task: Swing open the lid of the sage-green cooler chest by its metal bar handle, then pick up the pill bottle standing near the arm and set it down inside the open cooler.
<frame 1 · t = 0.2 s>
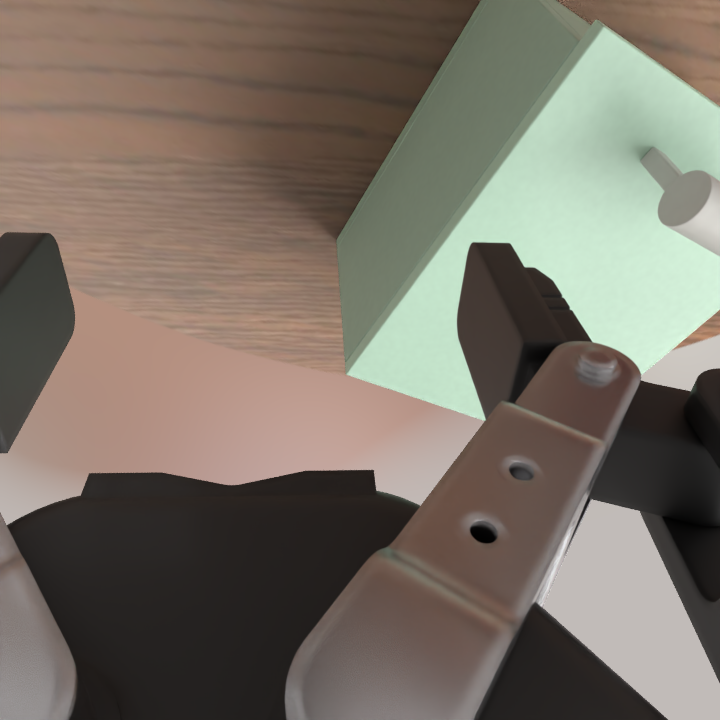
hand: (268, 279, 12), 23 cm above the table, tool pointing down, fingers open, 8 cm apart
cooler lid: (587, 322, 26), point 14 cm above the table, hinge at 0.0°
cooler: (506, 175, 36), on the table
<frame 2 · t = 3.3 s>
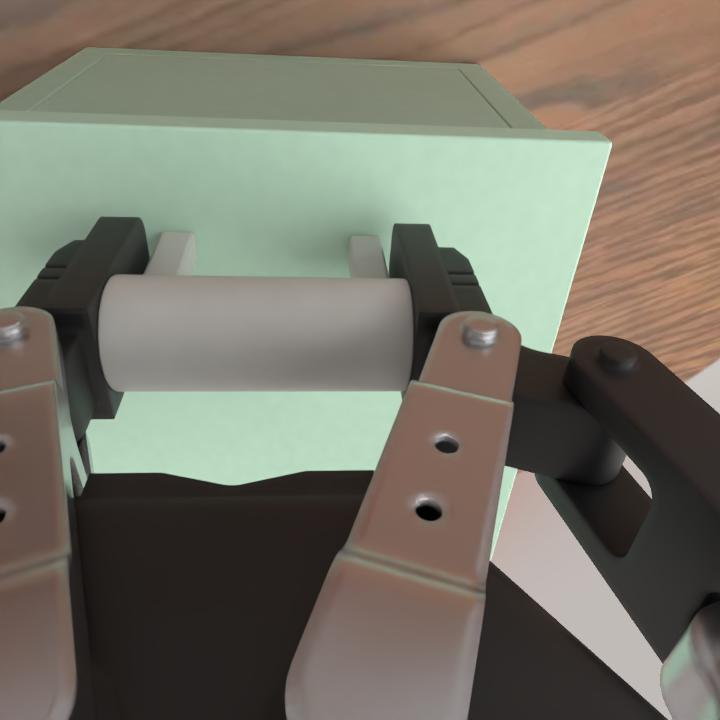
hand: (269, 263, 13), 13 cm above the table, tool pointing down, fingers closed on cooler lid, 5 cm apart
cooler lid: (277, 505, 16), point 14 cm above the table, hinge at -0.1°, touching gripper
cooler: (291, 267, 27), on the table
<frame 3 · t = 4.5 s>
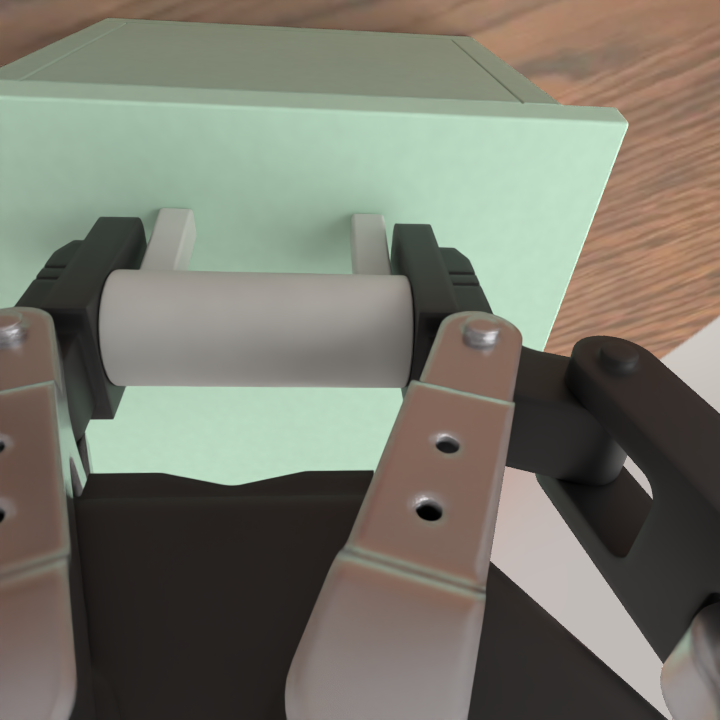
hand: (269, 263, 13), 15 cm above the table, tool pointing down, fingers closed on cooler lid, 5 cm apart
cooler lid: (278, 468, 16), point 15 cm above the table, hinge at 9.3°, touching gripper
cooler: (294, 233, 29), on the table
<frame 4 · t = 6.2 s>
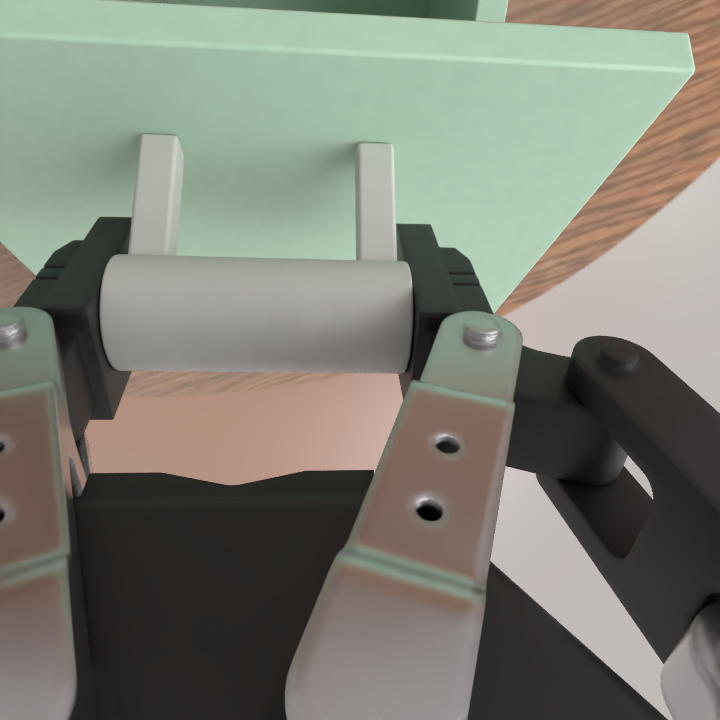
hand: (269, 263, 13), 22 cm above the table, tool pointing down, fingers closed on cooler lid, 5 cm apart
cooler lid: (281, 339, 17), point 19 cm above the table, hinge at 38.9°, touching gripper
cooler: (297, 86, 31), on the table
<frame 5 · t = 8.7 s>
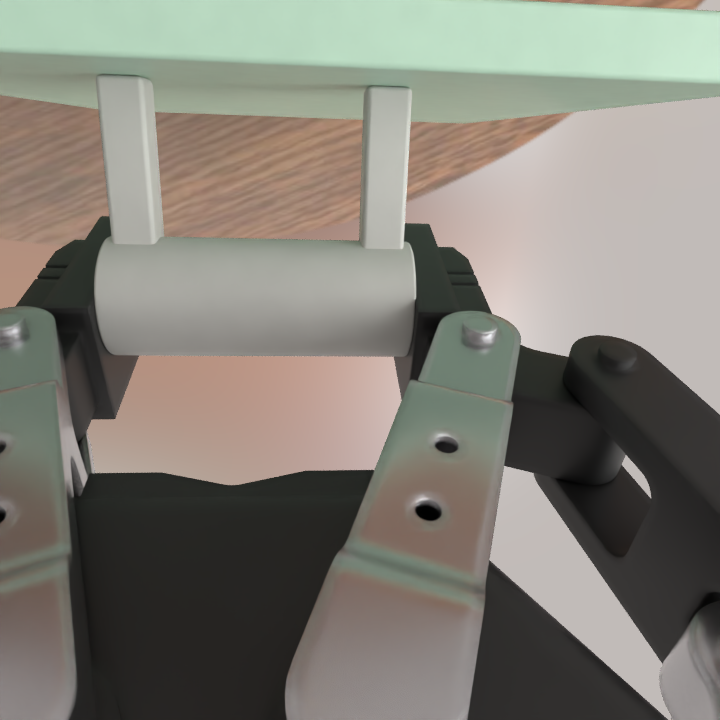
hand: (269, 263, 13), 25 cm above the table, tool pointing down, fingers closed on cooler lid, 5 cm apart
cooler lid: (278, 179, 16), point 21 cm above the table, hinge at 73.9°, touching gripper
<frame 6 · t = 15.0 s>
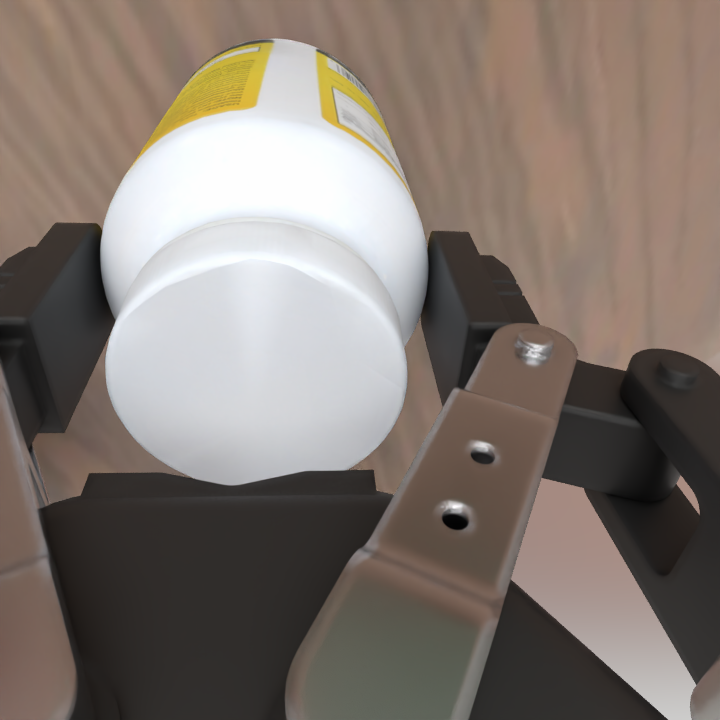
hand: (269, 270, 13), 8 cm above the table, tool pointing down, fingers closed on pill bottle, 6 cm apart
pill bottle: (283, 148, 19), on the table, touching gripper
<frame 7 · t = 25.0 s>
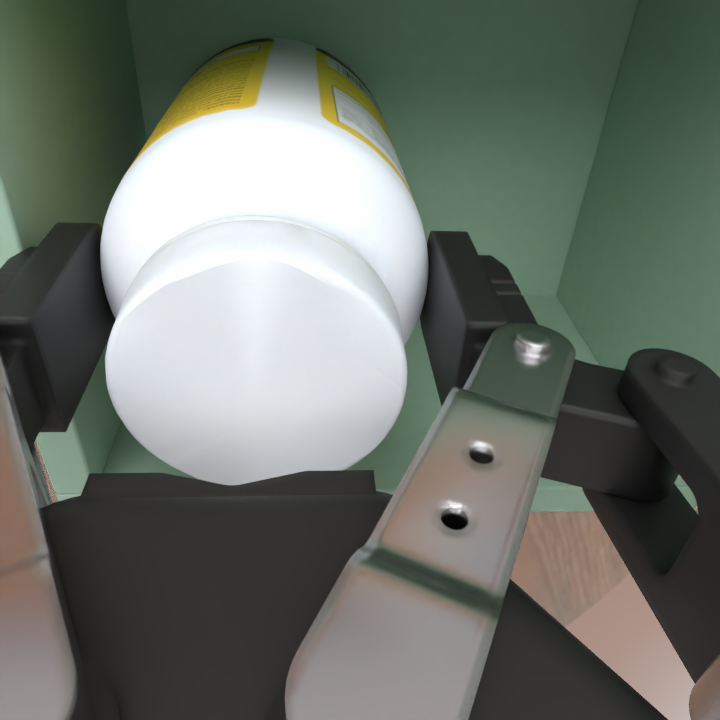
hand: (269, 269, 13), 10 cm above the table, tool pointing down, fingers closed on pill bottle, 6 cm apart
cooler: (376, 126, 21), on the table
pill bottle: (283, 148, 19), point 2 cm above the table, touching gripper
when the fingers open (11 cm above the table, at t = 33.1 s): pill bottle drops 3 cm, resting on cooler.
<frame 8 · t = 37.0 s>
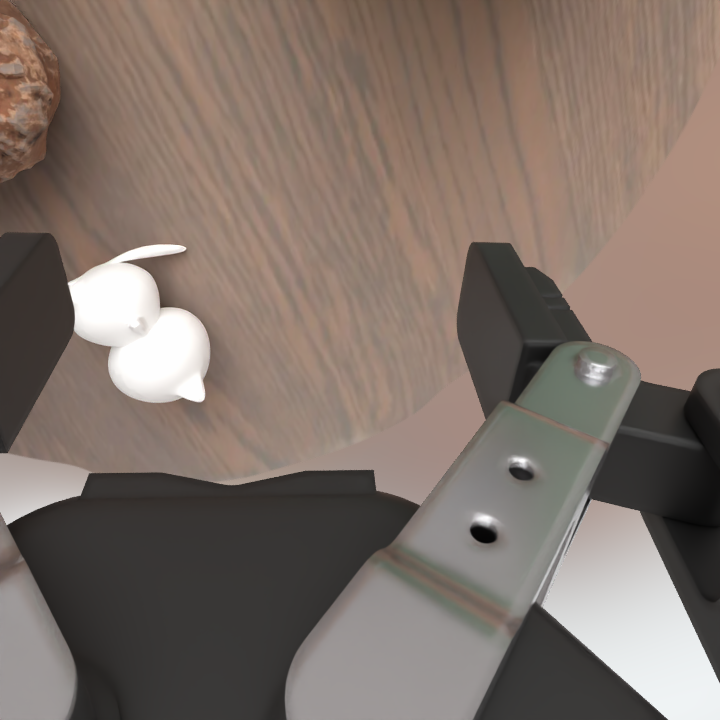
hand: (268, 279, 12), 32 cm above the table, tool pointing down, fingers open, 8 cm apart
cat figurine: (160, 300, 49), on the table
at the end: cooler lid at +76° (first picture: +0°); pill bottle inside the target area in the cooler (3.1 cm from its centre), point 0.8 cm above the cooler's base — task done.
